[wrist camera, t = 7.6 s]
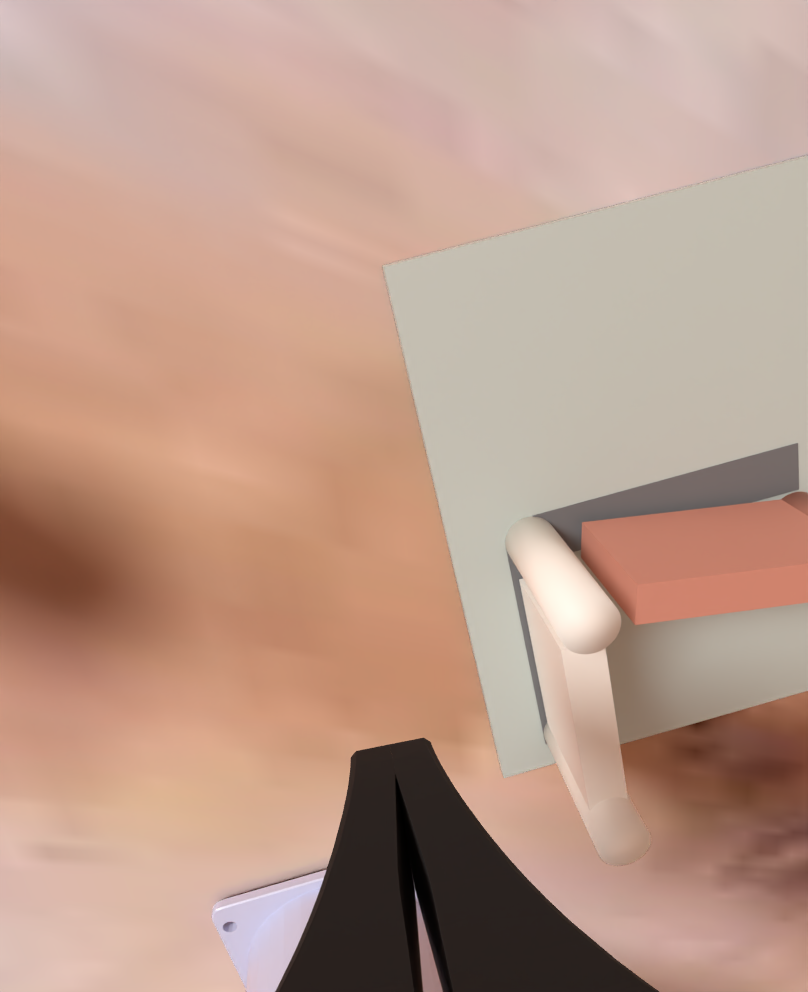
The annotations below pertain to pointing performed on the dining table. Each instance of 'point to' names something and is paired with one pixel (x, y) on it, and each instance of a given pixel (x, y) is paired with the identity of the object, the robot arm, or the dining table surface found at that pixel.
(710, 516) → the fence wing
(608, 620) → the fence base
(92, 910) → the dining table surface
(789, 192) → the card
